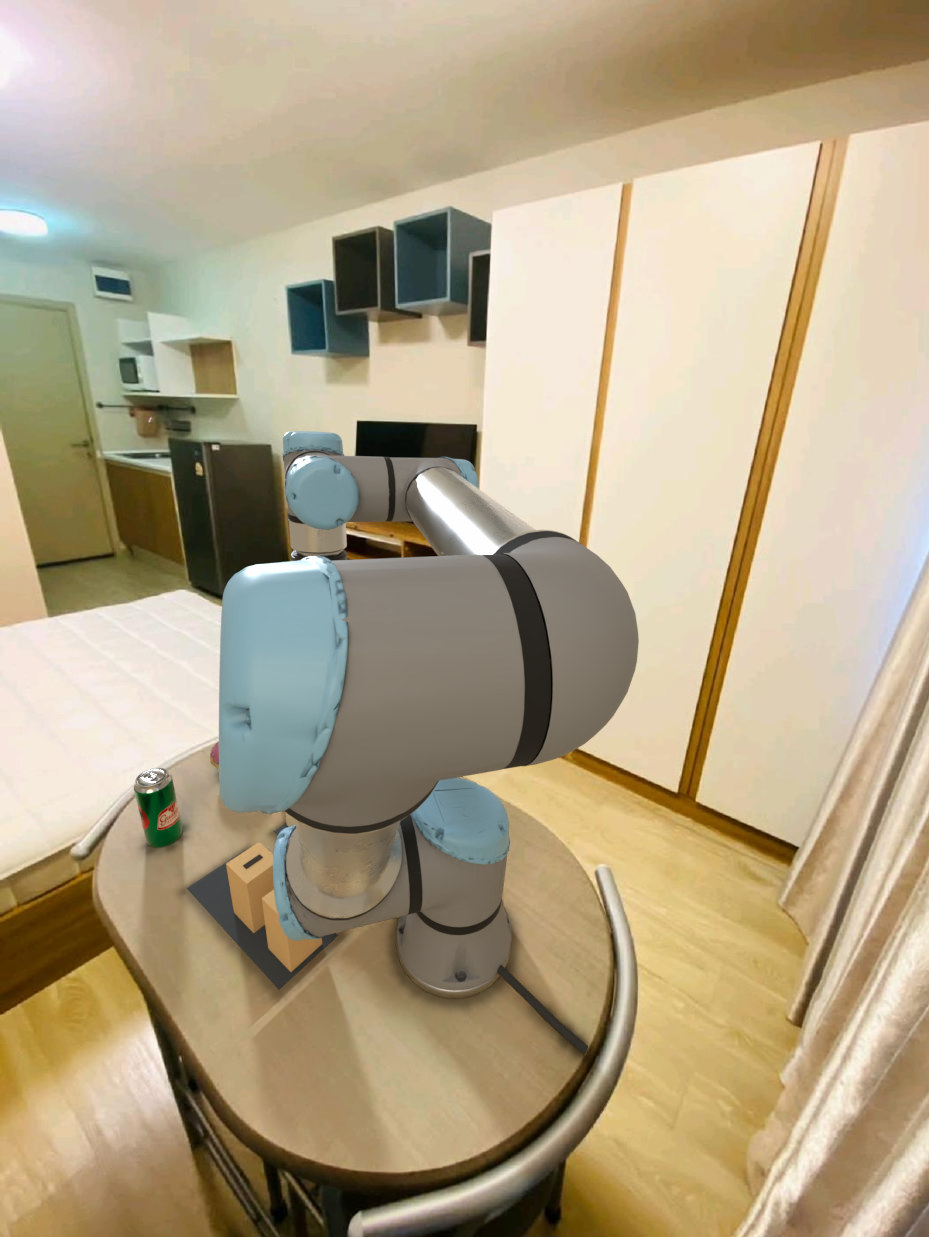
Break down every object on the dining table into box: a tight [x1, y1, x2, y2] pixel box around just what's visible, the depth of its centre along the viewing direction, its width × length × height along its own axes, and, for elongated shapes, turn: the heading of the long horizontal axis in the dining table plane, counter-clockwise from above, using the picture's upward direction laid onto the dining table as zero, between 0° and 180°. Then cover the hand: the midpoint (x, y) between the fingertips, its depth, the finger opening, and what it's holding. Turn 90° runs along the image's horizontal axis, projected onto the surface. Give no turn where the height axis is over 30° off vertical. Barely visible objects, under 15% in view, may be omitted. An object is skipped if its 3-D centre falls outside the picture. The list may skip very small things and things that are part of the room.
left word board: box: [186, 841, 339, 991], centre depth 70 cm, size 22×9×10 cm, turn 53°
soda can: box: [133, 767, 183, 849], centre depth 80 cm, size 5×5×12 cm
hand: (326, 684), depth 80 cm, fingers open, 13 cm apart
